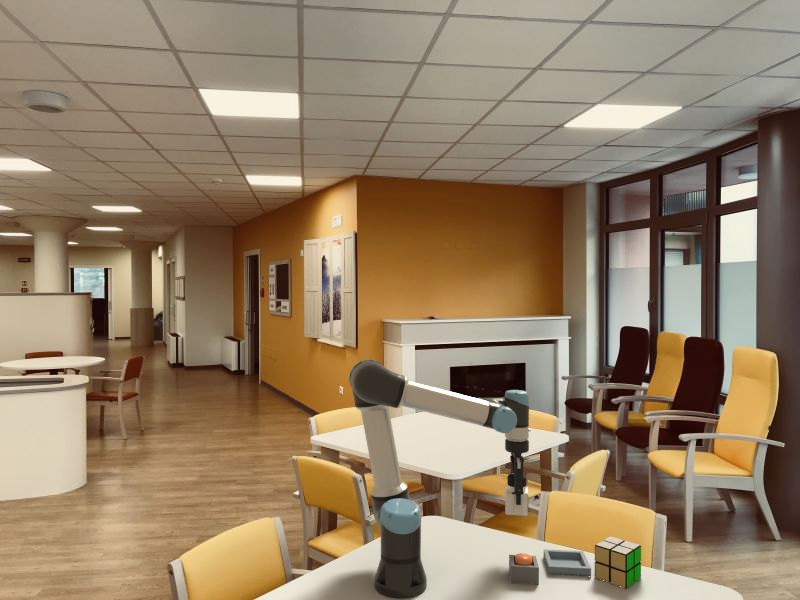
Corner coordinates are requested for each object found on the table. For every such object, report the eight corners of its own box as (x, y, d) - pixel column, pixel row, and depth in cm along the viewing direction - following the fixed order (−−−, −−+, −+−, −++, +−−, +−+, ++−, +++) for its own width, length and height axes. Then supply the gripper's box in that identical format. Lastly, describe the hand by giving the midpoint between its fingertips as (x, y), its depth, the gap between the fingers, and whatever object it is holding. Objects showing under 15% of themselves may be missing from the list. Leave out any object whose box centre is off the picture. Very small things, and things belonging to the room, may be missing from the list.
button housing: (511, 583, 179) (511, 566, 179) (509, 570, 187) (509, 554, 187) (538, 584, 178) (538, 567, 178) (535, 572, 186) (535, 555, 186)
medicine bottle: (528, 516, 193) (528, 478, 193) (505, 514, 194) (505, 477, 194) (527, 508, 200) (528, 472, 200) (505, 507, 201) (505, 470, 201)
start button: (515, 568, 180) (515, 560, 180) (514, 561, 185) (514, 553, 185) (533, 569, 180) (533, 560, 180) (531, 562, 185) (531, 553, 185)
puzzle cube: (609, 567, 190) (610, 535, 190) (641, 578, 182) (641, 544, 182) (593, 578, 183) (594, 544, 182) (626, 589, 175) (626, 554, 175)
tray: (548, 574, 184) (548, 566, 184) (543, 557, 197) (543, 549, 197) (591, 576, 183) (591, 568, 183) (583, 558, 195) (583, 551, 195)
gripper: (532, 446, 186) (532, 521, 186) (525, 431, 206) (525, 499, 207) (507, 446, 187) (507, 520, 187) (502, 431, 207) (502, 498, 207)
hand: (516, 509), depth 197 cm, fingers closed on medicine bottle, 7 cm apart
